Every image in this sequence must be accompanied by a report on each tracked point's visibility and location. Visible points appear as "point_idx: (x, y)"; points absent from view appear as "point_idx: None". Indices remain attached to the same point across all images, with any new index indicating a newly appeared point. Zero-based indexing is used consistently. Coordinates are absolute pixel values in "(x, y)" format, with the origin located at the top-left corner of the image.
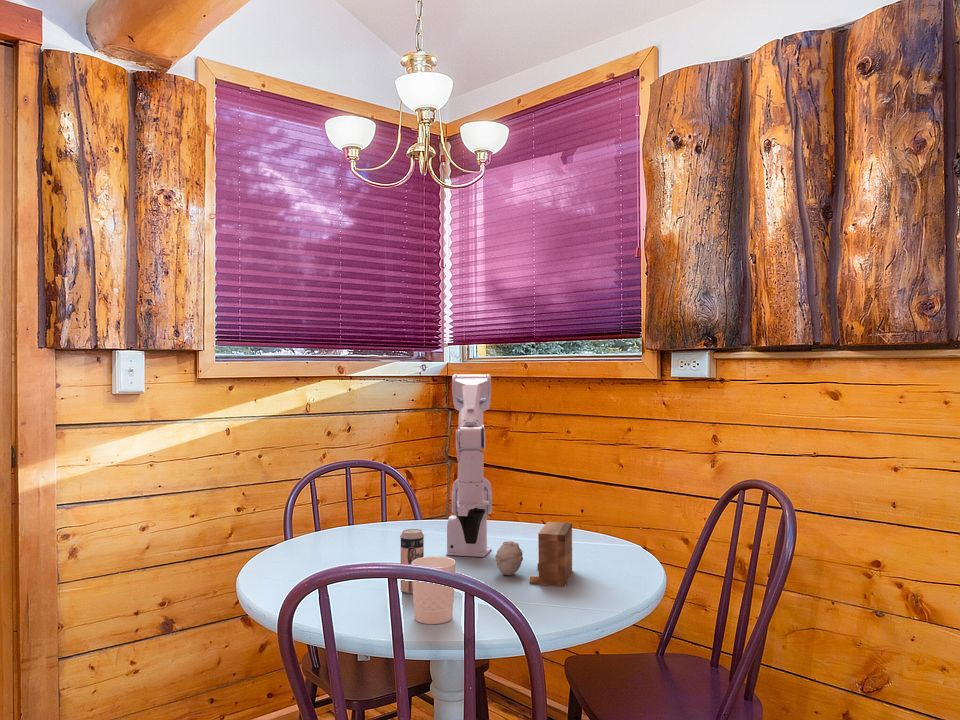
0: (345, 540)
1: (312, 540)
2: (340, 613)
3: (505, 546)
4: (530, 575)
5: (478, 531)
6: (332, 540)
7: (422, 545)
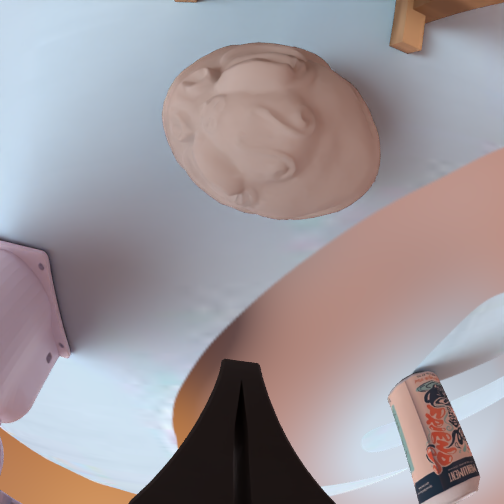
0: (73, 457)
1: (95, 476)
2: (465, 417)
3: (314, 171)
4: (406, 42)
5: (214, 405)
6: (82, 465)
7: (467, 459)
